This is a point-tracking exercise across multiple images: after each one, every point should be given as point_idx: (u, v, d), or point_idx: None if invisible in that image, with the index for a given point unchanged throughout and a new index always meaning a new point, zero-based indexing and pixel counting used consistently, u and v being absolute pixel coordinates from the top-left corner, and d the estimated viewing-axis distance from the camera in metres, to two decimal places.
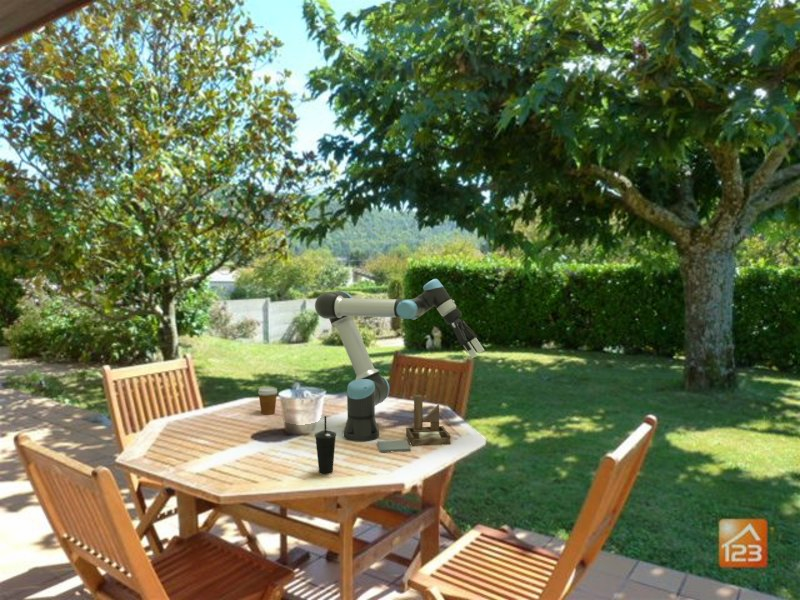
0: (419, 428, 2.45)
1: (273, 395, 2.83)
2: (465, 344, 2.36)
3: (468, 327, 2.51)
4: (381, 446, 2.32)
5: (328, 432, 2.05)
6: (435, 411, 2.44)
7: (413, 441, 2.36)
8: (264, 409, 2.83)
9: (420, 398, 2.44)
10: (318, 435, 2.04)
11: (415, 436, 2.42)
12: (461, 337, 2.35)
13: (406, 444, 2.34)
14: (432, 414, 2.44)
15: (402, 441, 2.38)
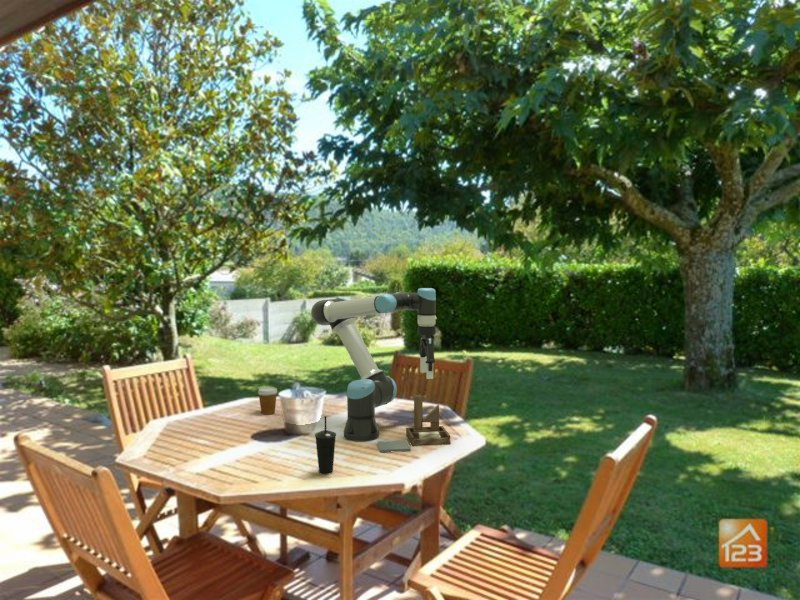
0: (419, 428, 2.45)
1: (273, 395, 2.83)
2: (430, 364, 2.36)
3: None
4: (381, 446, 2.32)
5: (328, 432, 2.05)
6: (435, 411, 2.44)
7: (413, 441, 2.36)
8: (264, 409, 2.83)
9: (420, 398, 2.44)
10: (318, 435, 2.04)
11: (415, 436, 2.42)
12: (432, 356, 2.35)
13: (406, 444, 2.34)
14: (432, 414, 2.44)
15: (402, 441, 2.38)
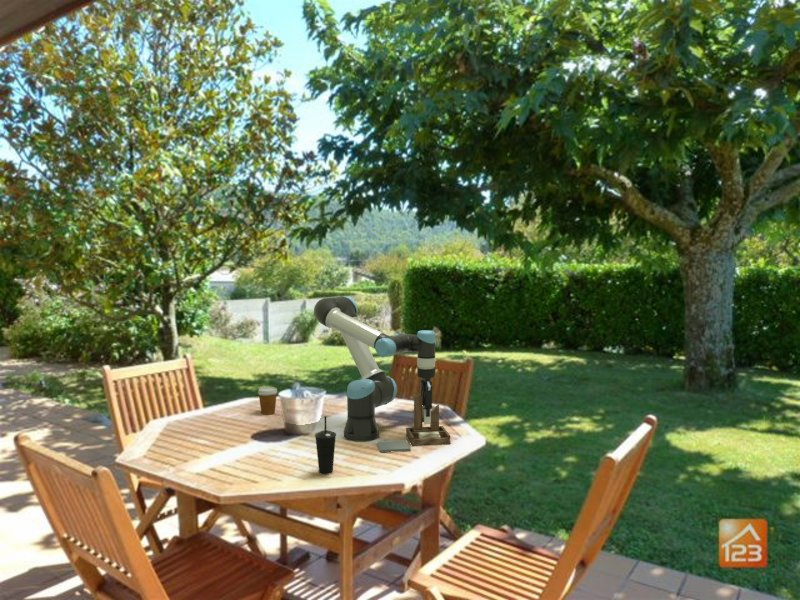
0: (419, 428, 2.45)
1: (273, 395, 2.83)
2: (428, 410, 2.42)
3: None
4: (381, 446, 2.32)
5: (328, 432, 2.05)
6: (435, 411, 2.44)
7: (413, 441, 2.36)
8: (264, 409, 2.83)
9: (420, 398, 2.44)
10: (318, 435, 2.04)
11: (415, 436, 2.42)
12: (430, 403, 2.40)
13: (406, 444, 2.34)
14: (432, 414, 2.44)
15: (402, 441, 2.38)
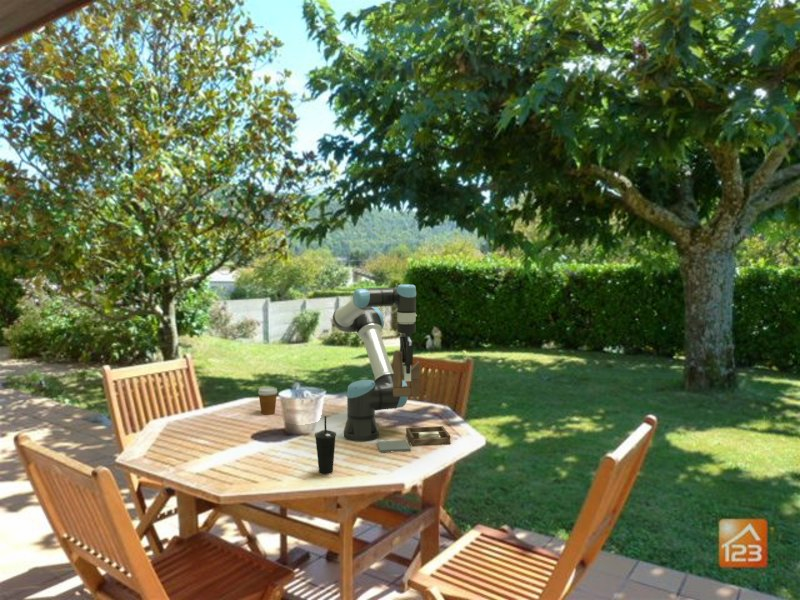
0: (399, 386, 2.36)
1: (273, 395, 2.83)
2: (408, 366, 2.33)
3: None
4: (381, 446, 2.32)
5: (328, 432, 2.05)
6: (415, 368, 2.36)
7: (413, 441, 2.36)
8: (264, 409, 2.83)
9: (400, 354, 2.35)
10: (318, 435, 2.04)
11: (415, 436, 2.42)
12: (411, 359, 2.31)
13: (406, 444, 2.34)
14: (412, 371, 2.36)
15: (402, 441, 2.38)
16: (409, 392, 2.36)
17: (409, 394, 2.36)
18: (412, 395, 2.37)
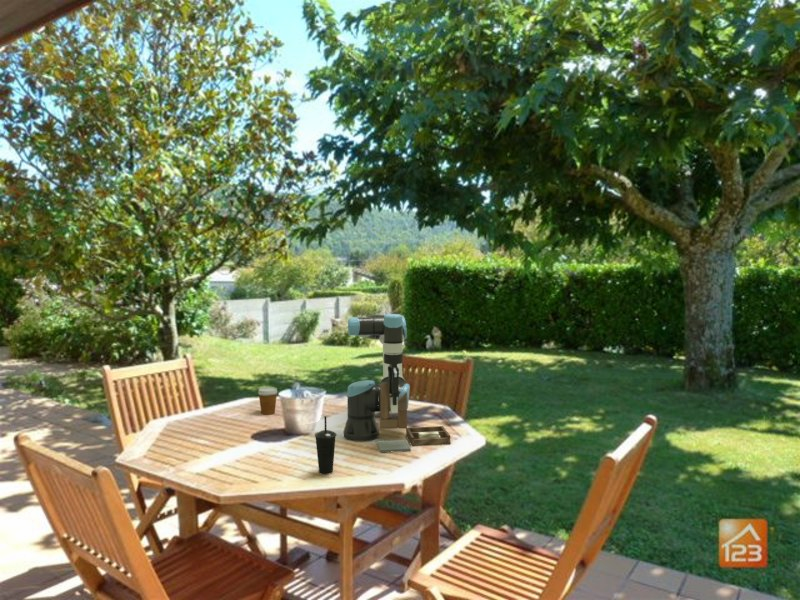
0: (386, 417, 2.32)
1: (273, 395, 2.83)
2: (394, 398, 2.29)
3: None
4: (381, 446, 2.32)
5: (328, 432, 2.05)
6: (402, 399, 2.31)
7: (413, 441, 2.36)
8: (264, 409, 2.83)
9: (387, 385, 2.31)
10: (318, 435, 2.04)
11: (415, 436, 2.42)
12: (396, 391, 2.27)
13: (406, 444, 2.34)
14: (399, 402, 2.31)
15: (402, 441, 2.38)
16: (396, 424, 2.32)
17: (396, 426, 2.32)
18: (399, 427, 2.32)
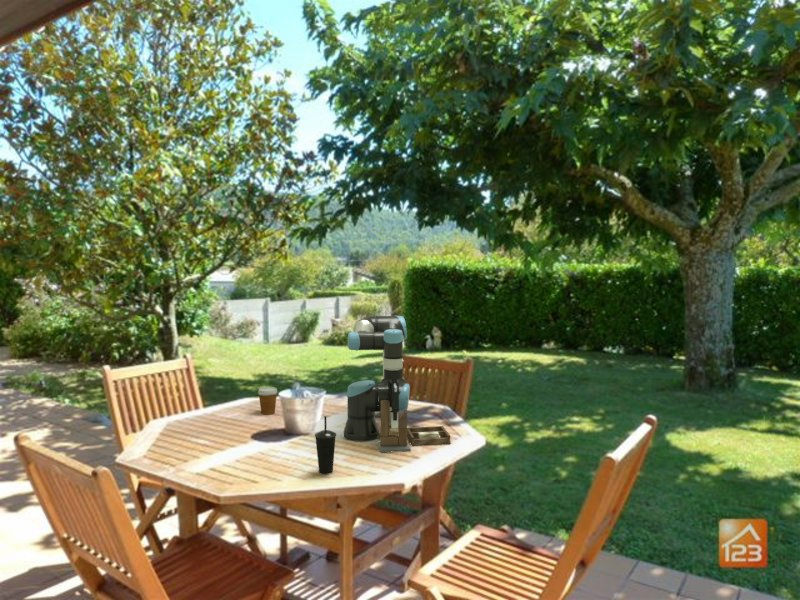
0: (386, 435, 2.32)
1: (273, 395, 2.83)
2: (395, 413, 2.28)
3: None
4: (381, 446, 2.32)
5: (328, 432, 2.05)
6: (403, 417, 2.31)
7: (413, 441, 2.36)
8: (264, 409, 2.83)
9: (387, 403, 2.31)
10: (318, 435, 2.04)
11: (415, 436, 2.42)
12: (397, 406, 2.26)
13: None
14: (400, 420, 2.31)
15: None
16: (396, 441, 2.32)
17: (396, 443, 2.32)
18: (399, 444, 2.32)
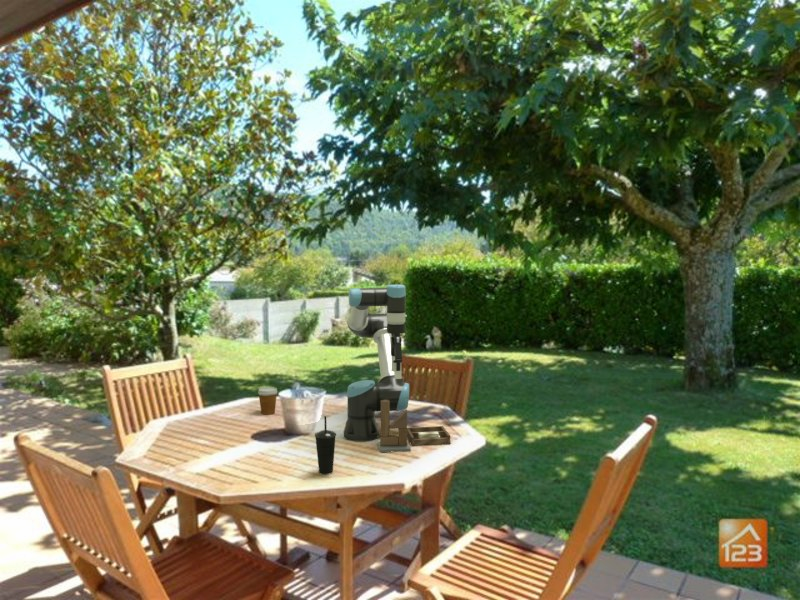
0: (386, 435, 2.32)
1: (273, 395, 2.83)
2: (398, 363, 2.28)
3: None
4: (381, 446, 2.32)
5: (328, 432, 2.05)
6: (403, 417, 2.32)
7: (413, 441, 2.36)
8: (264, 409, 2.83)
9: (387, 403, 2.32)
10: (318, 435, 2.04)
11: (415, 436, 2.42)
12: (400, 356, 2.27)
13: None
14: (400, 420, 2.32)
15: None
16: (396, 441, 2.32)
17: (396, 443, 2.32)
18: (399, 444, 2.32)
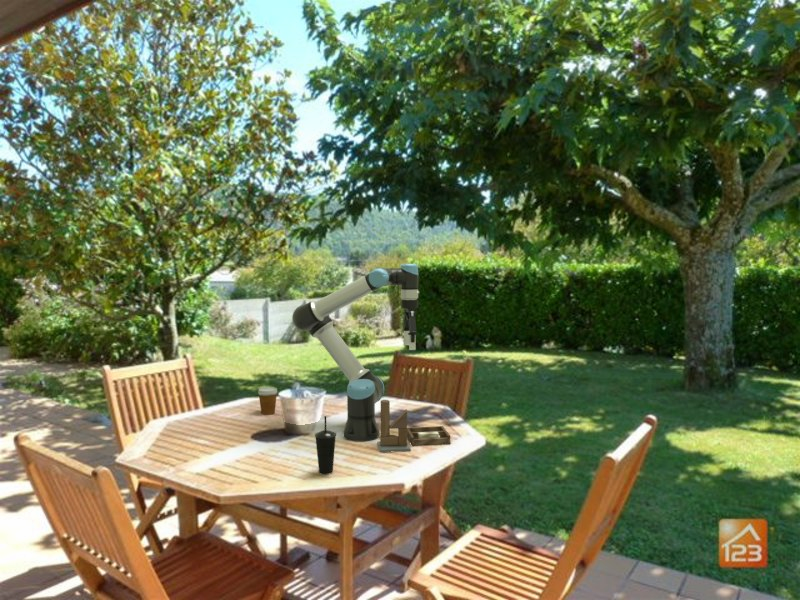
0: (386, 435, 2.32)
1: (273, 395, 2.83)
2: (413, 335, 2.47)
3: None
4: (381, 446, 2.32)
5: (328, 432, 2.05)
6: (403, 417, 2.32)
7: (413, 441, 2.36)
8: (264, 409, 2.83)
9: (387, 403, 2.32)
10: (318, 435, 2.04)
11: (415, 436, 2.42)
12: (414, 328, 2.46)
13: None
14: (400, 420, 2.32)
15: None
16: (396, 441, 2.32)
17: (396, 443, 2.32)
18: (399, 444, 2.32)
